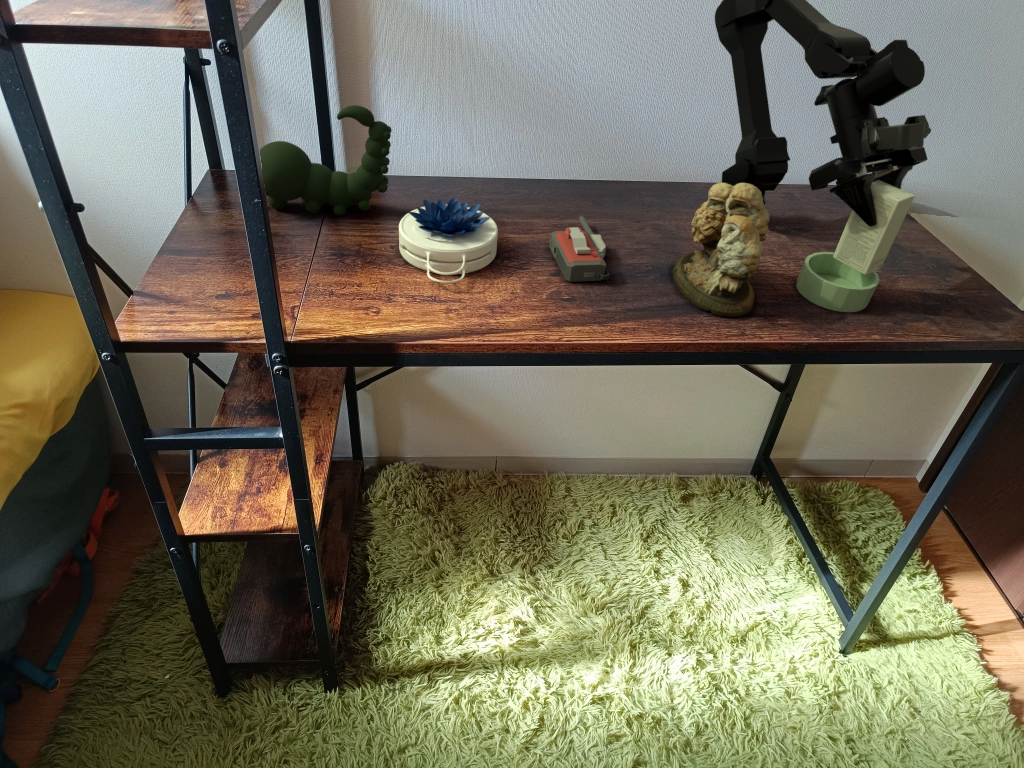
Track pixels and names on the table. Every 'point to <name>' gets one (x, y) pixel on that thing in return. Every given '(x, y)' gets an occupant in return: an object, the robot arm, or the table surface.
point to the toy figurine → (327, 171)
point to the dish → (835, 283)
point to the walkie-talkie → (579, 253)
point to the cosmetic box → (874, 229)
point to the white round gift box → (448, 238)
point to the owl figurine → (724, 250)
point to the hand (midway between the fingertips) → (883, 223)
